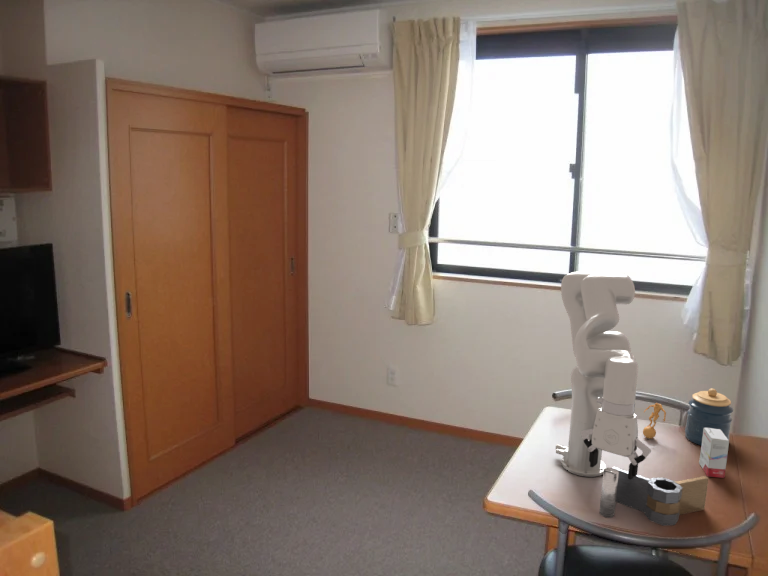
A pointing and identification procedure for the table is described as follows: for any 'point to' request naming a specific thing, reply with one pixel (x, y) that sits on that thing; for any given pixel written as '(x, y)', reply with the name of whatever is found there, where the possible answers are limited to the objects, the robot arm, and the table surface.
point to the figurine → (650, 431)
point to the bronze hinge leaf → (684, 498)
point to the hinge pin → (609, 492)
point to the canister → (708, 414)
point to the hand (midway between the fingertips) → (612, 471)
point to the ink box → (714, 452)
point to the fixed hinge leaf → (637, 493)
